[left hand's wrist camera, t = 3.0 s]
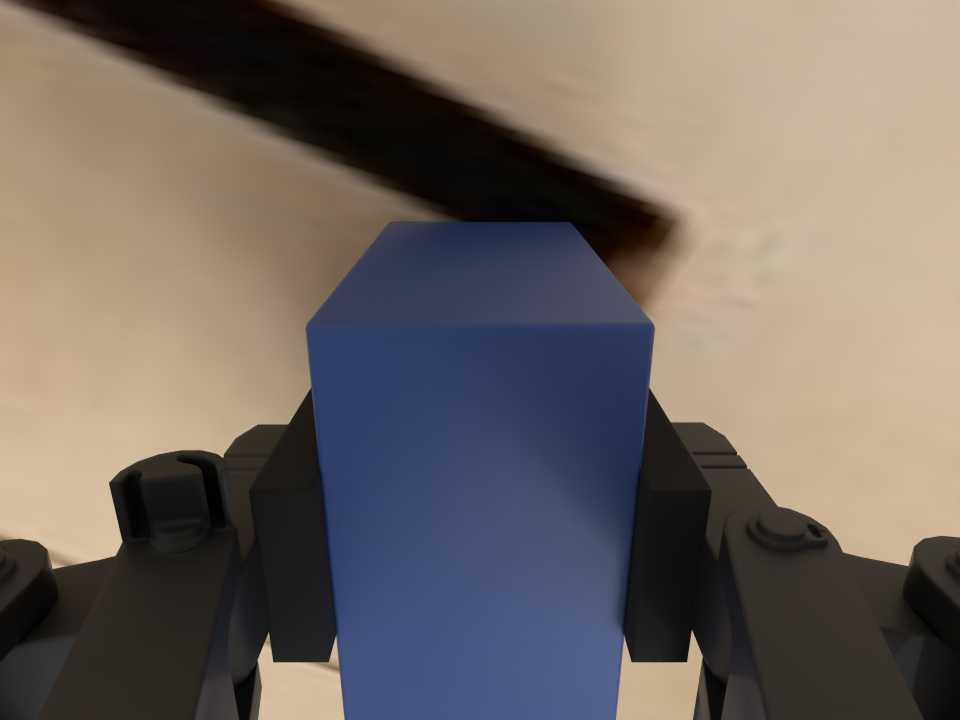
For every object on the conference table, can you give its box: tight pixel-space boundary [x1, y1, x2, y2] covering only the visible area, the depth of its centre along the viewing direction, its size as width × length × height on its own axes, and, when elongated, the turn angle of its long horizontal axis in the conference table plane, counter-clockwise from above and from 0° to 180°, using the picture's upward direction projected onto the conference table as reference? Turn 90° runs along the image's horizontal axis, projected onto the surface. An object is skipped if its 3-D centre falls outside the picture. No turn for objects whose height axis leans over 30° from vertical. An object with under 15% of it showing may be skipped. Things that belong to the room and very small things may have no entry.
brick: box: [306, 222, 655, 720], centre depth 12 cm, size 4×7×8 cm, turn 0°
